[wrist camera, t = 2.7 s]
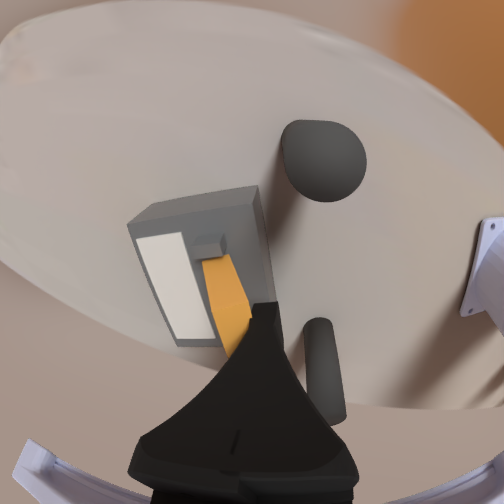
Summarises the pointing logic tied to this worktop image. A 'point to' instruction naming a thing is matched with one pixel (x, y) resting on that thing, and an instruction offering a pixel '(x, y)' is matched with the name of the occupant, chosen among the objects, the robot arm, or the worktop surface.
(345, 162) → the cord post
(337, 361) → the cylinder
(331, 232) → the worktop surface
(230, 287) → the breaker paddle
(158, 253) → the breaker box
